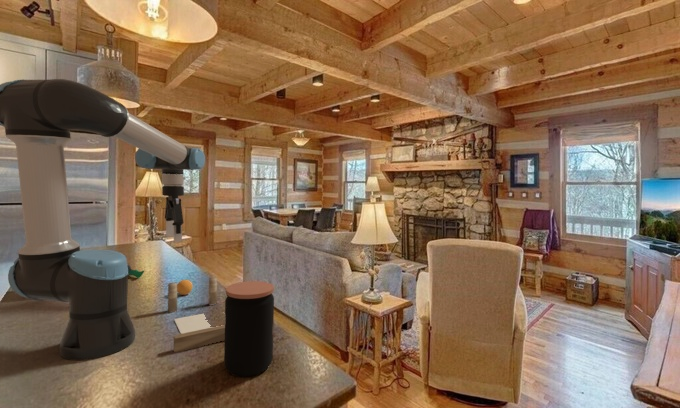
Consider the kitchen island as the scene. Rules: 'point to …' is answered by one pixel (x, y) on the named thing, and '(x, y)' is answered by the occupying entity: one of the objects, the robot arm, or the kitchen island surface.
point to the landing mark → (192, 323)
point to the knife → (134, 272)
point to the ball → (184, 287)
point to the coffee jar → (248, 327)
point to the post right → (212, 290)
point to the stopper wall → (198, 338)
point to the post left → (172, 297)
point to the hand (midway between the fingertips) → (173, 239)
